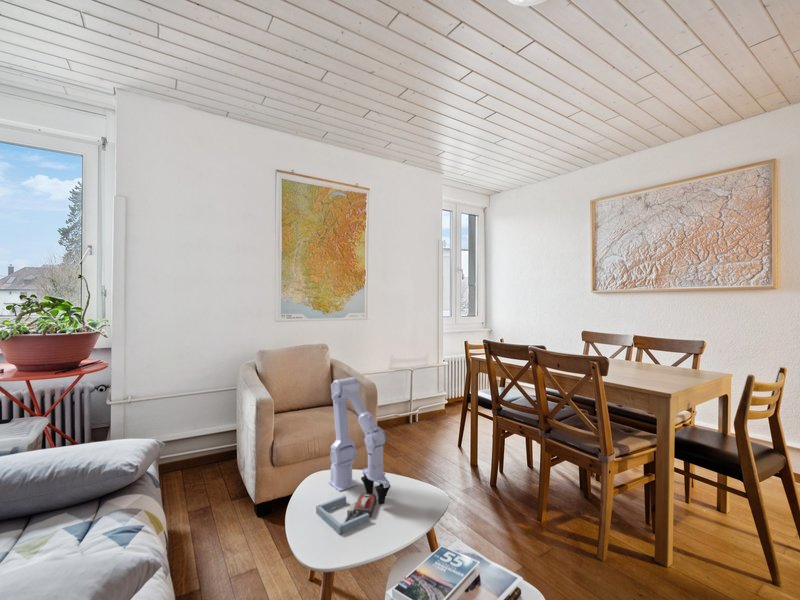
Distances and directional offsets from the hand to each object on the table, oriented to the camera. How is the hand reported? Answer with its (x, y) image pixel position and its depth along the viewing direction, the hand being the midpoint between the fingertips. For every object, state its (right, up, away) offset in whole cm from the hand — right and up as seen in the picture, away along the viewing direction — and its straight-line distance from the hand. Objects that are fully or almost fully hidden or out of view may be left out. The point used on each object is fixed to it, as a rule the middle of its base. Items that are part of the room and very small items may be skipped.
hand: (375, 499), depth 142 cm
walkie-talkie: (-5, -2, -7) cm, 8 cm away
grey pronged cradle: (-11, -1, -8) cm, 14 cm away
